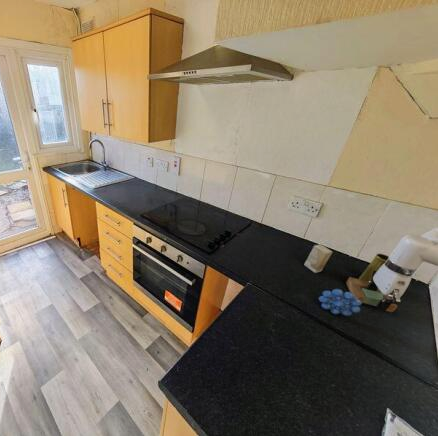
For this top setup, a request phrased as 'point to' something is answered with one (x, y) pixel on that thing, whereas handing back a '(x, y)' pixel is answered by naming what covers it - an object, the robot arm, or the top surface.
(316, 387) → the top surface
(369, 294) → the light green block
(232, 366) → the top surface
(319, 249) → the cosmetic box
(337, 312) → the grapes
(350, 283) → the brown wooden u-shaped piece
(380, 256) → the vase
